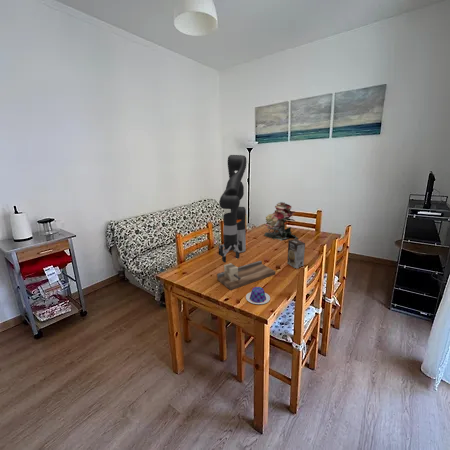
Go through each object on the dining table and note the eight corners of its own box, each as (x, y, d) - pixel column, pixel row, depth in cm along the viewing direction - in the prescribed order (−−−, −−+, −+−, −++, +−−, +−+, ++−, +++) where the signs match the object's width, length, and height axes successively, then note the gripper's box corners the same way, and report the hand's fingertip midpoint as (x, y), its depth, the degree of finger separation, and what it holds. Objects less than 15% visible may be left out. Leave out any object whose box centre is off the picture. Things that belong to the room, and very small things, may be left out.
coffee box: (286, 263, 162) (287, 240, 158) (295, 261, 164) (296, 238, 160) (295, 268, 154) (296, 244, 149) (303, 267, 156) (305, 242, 152)
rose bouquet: (282, 229, 235) (283, 198, 227) (301, 238, 208) (304, 203, 200) (258, 233, 226) (258, 200, 218) (275, 243, 200) (276, 206, 191)
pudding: (257, 308, 116) (257, 298, 114) (240, 297, 125) (240, 288, 124) (275, 299, 122) (275, 290, 121) (258, 289, 132) (258, 280, 130)
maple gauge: (224, 276, 143) (224, 265, 141) (231, 274, 145) (230, 263, 143) (236, 284, 133) (236, 272, 131) (243, 282, 135) (243, 270, 133)
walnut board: (217, 279, 143) (217, 273, 142) (260, 265, 159) (260, 260, 158) (230, 290, 131) (230, 283, 130) (275, 274, 148) (275, 268, 147)
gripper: (237, 228, 140) (237, 255, 145) (215, 233, 133) (216, 261, 137) (245, 231, 134) (245, 259, 138) (222, 236, 127) (223, 265, 131)
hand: (230, 260), depth 138 cm, fingers open, 8 cm apart
